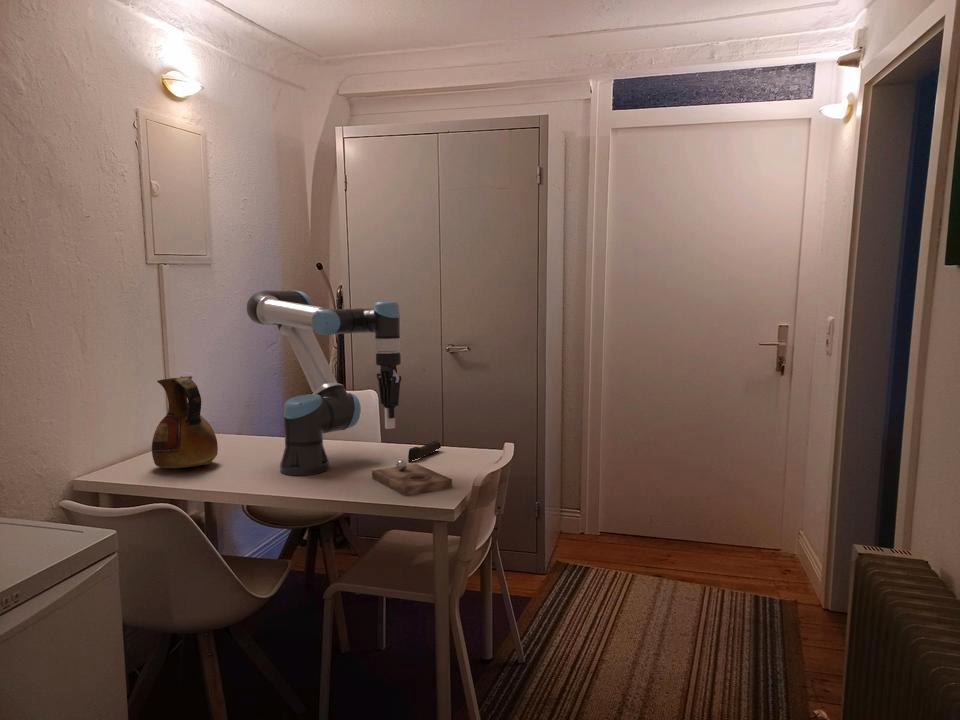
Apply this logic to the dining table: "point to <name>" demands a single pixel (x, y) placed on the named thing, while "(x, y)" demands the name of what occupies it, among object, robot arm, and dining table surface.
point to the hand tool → (422, 450)
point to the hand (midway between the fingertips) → (390, 428)
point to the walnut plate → (412, 479)
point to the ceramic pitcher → (183, 428)
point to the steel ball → (401, 465)
